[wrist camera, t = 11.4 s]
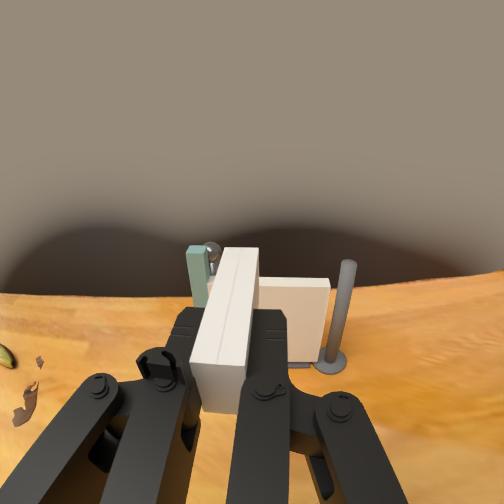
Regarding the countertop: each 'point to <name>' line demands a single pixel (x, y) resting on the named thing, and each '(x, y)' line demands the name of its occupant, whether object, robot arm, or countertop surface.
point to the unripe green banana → (6, 358)
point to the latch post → (213, 257)
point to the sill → (323, 363)
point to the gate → (289, 304)
